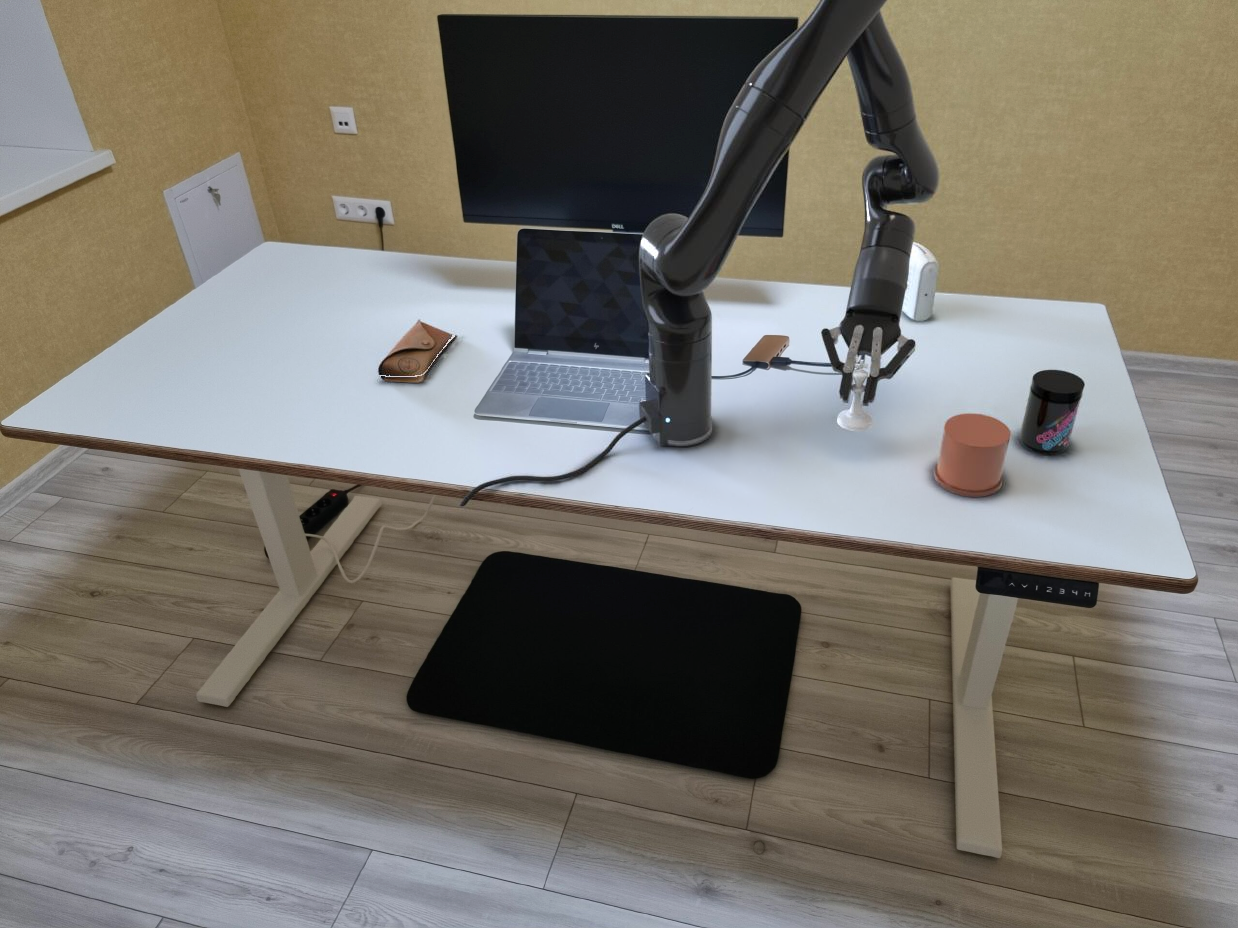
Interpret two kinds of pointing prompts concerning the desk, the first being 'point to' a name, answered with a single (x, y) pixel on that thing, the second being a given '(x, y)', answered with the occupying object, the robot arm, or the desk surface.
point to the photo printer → (920, 283)
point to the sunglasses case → (414, 354)
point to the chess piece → (856, 404)
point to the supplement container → (1051, 411)
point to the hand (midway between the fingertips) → (855, 402)
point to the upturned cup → (972, 455)
